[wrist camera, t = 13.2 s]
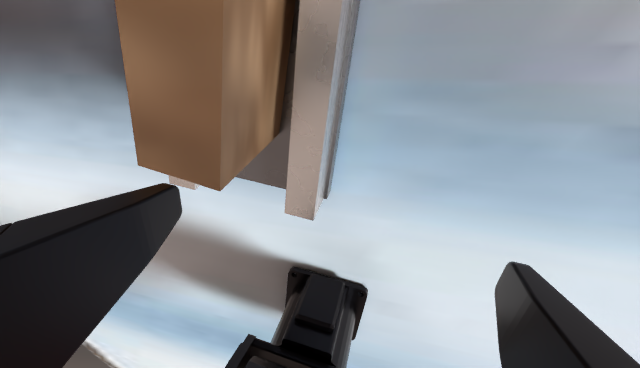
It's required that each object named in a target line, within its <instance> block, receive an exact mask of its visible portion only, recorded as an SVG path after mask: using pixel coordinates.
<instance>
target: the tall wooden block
mask: <svg viewBox="0 0 640 368" xmlns="http://www.w3.org/2000/svg"><path fill="white" fill-rule="evenodd" d="M295 1H296V0H115V6H116V13H117V20H118V27H119V34H120V41H121V48H122V55H123V62H124V69H125V76H126V84H127V91H128V98H129V105H130V112H131V119H132V126H133V133H134V140H135V147H136V154H137V161H138V165H139V166H142V167H145V168H148V169H151V170H154V171H158V172H161V173H164V174H167V175H170V176H173V177H177V178H180V179H183V180H186V181H189V182H192V183H195V184H199V185H202V186H205V187H208V188H211V189H214V190H217V191H221V190H222V189H223V188H224V187H225V186H226V185H227V184H228V183H229V182H230V181H231V180H232V179H233V178H234V177H235V176H236V175H237V174H238V173H239V172H240V171H241V170H242V169H243V168H244V167H246V166H247V165H248V164H249V163H250V162H251V161H252V160H253V159H254V158H255V157H256V156H257V155H258V154H259V153H260V152H261V151H262V150H263V149H264V148H265V147H266V146H267V145H268V144H269V143H270V142H271V141H272V140H273V139H274V138H275V137H276V136H277V135H278V134H279V131H280V122H281V114H282V106H283V98H284V90H285V82H286V74H287V66H288V58H289V49H290V41H291V33H292V25H293V17H294V9H295Z"/></svg>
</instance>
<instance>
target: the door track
mask: <svg viewBox="0 0 640 368" xmlns="http://www.w3.org/2000/svg"><path fill="white" fill-rule="evenodd" d="M359 4H360V0H296V1H295V9H294V17H293V25H292V33H291V41H290V49H289V58H288V66H287V74H286V82H285V90H284V98H283V106H282V114H281V122H280V131H279V134H278V135H277V136H276V137H275V138H274V139H273V140H272V141H271V142H270V143H269V144H268V145H267V146H266V147H265V148H264V149H263V150H262V151H261V152H260V153H259V154H258V155H257V156H256V157H255V158H254V159H253V160H252V161H251V162H250V163H249V164H248V165H247V166H246V167H244V168H243V169H242V170H241V171H240V172H239V173H238V174H237V175H236V176H235V177H238V178H242V179H246V180H250V181H255V182H259V183H263V184H267V185H271V186H275V187H279V188H283V189H286V202H285V213H286V214H290V215H294V216H298V217H302V218H306V219H309V220H314V218H315V216H316V214H317V212H318V210H319V207H320V205H321V203H322V201H323V199H327V197H328V195H329V193H330V189H331V183H332V176H333V170H334V164H335V157H336V151H337V145H338V138H339V132H340V126H341V119H342V113H343V106H344V100H345V94H346V87H347V81H348V75H349V68H350V62H351V55H352V49H353V43H354V36H355V30H356V24H357V17H358V11H359ZM169 181H170V184H174V185H178V186H182V187H186V188H190V189H193V190H196V189H197V188H198V187H199V186H200V185H199V184H195V183H192V182H189V181H186V180H183V179H180V178H177V177H173V176H170V175H169Z"/></svg>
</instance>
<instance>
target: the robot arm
mask: <svg viewBox="0 0 640 368" xmlns="http://www.w3.org/2000/svg"><path fill="white" fill-rule="evenodd" d="M181 214H182V206H181V199H180V193H179V189H178V188H177V187H176V186H175V185H170V184H166V183H162V184H158V185H154V186H150V187H146V188H142V189H139V190H135V191H131V192H127V193H123V194H120V195H116V196H112V197H108V198H104V199H100V200H97V201H93V202H89V203H85V204H81V205H78V206H74V207H70V208H66V209H62V210H59V211H55V212H51V213H47V214H43V215H39V216H36V217H32V218H28V219H24V220H20V221H17V222H14V223H13V224H12V223H9V224H5V225H1V226H0V368H62V367H63V366H64V365H65V364H66V362H67V361H68V360H69V359H70V358H71V356H72V355H73V354H74V353H75V352H76V350H77V349H78V348H79V347H80V346H81V344H82V343H83V342H84V341H85V340H86V338H87V337H88V336H89V335H90V334H91V332H92V331H93V330H94V329H95V327H96V326H97V325H98V324H99V323H100V321H101V320H102V319H103V318H104V317H105V315H106V314H107V313H108V312H109V311H110V309H111V308H112V307H113V306H114V305H115V303H116V302H117V301H118V300H119V298H120V297H121V296H122V295H123V294H124V292H125V291H126V290H127V289H128V288H129V286H130V285H131V284H132V283H133V282H134V280H135V279H136V278H137V277H138V275H139V274H140V273H141V272H142V271H143V269H144V268H145V267H146V266H147V265H148V263H149V262H150V261H151V259H152V258H153V257H154V255H155V254H156V253H157V251H158V250H159V248H160V247H161V245H162V244H163V242H164V241H165V239H166V238H167V236H168V235H169V233H170V232H171V230H172V229H173V227H174V226H175V224H176V223H177V221H178V220H179V218H180V216H181ZM295 273H296V274H295ZM361 292H362V293H361ZM367 294H368V290H367V288H365V287H363V286H360V285H357V284H353V283H350V282H346V281H343V280H339V279H336V278H332V277H329V276H325V275H322V274H318V273H315V272H311V271H308V270H304V269H301V268H297V267H292V268H291V269H290V271H289V273H288V284H287V295H286V306H285V310H284V313H283V315H282V317H281V320H280V322H279V324H278V327H277V329H276V331H275V334H274V336H273V338H272V341H271V343H268V342H266V341H263V340H260V339H257V338H256V336H253V335H250V334H248V336H247V337H246V339H245V340H244V342H243V343H241V344H240V345H239V347H238V348H237V350H236V351H235V353H234V354H233V356H232V357H231V359H230V360H229V362H228V364H227V365H226V367H225V368H346V366H347V361H348V356H349V350H350V345H351V340H354V339H355V337H356V333H357V330H358V326H359V323H360V319H361V316H362V312H363V309H364V305H365V302H366V299H367ZM495 304H496V317H497V330H498V343H499V353H500V359H501V365H502V368H640V364H639V363H637V362H636V361H635V360H634V359H633V358H632V357H631V356H630V355H628V354H627V353H626V352H625V351H624V350H623V349H622V348H621V347H620V346H618V345H617V344H616V343H615V342H614V341H613V340H612V339H611V338H610V337H608V336H607V335H606V334H605V333H604V332H603V331H602V330H601V329H599V328H598V327H597V326H596V325H595V324H594V323H593V322H592V321H591V320H589V319H588V318H587V317H586V316H585V315H584V314H583V313H582V312H581V311H579V310H578V309H577V308H576V307H575V306H574V305H573V304H572V303H570V302H569V301H568V300H567V299H566V298H565V297H564V296H563V295H562V294H560V293H559V292H558V291H557V290H556V289H555V288H554V287H553V286H552V285H550V284H549V283H548V282H547V281H546V280H545V279H544V278H543V277H541V276H540V275H539V274H538V273H537V272H536V271H535V270H534V269H533V268H531V267H530V266H529V265H526V264H521V263H517V262H509V263H508V264H507V265H506V267H505V269H504V271H503V273H502V275H501V277H500V279H499V281H498V283H497V285H496V288H495Z"/></svg>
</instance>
